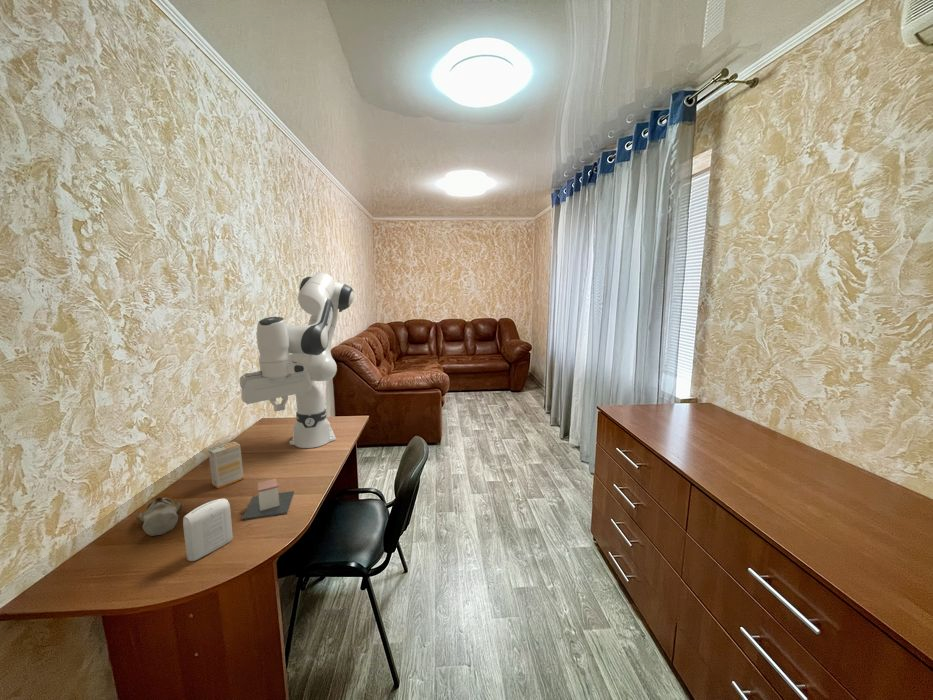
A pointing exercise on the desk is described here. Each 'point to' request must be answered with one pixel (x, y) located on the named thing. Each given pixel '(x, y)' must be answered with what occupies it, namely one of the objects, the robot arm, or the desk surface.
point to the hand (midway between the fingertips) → (279, 410)
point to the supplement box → (226, 464)
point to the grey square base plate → (283, 507)
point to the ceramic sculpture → (160, 516)
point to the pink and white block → (268, 494)
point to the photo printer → (207, 528)
